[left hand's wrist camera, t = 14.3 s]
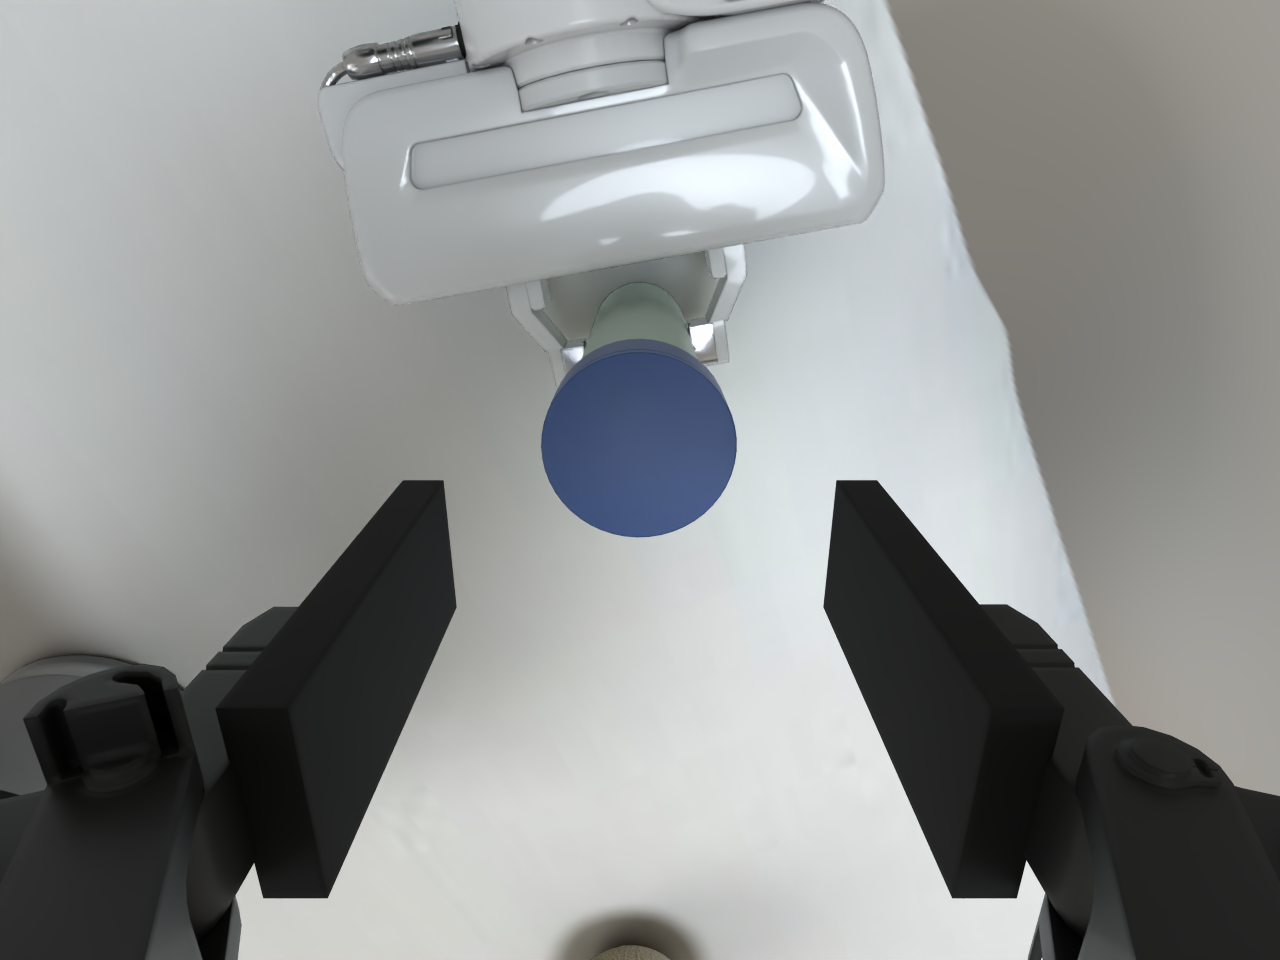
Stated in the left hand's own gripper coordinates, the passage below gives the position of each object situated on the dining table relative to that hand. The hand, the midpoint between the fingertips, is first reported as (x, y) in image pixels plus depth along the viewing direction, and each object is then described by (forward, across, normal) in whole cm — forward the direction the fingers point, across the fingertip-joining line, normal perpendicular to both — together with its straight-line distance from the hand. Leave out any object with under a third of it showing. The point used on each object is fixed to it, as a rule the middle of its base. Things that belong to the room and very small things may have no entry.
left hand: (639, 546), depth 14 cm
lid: (+6, 0, 0) cm, 6 cm away
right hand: (+18, 0, -1) cm, 18 cm away
